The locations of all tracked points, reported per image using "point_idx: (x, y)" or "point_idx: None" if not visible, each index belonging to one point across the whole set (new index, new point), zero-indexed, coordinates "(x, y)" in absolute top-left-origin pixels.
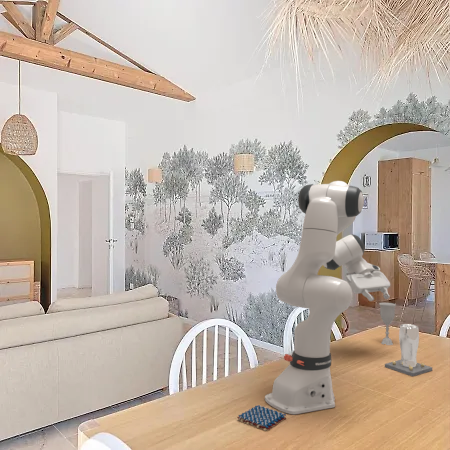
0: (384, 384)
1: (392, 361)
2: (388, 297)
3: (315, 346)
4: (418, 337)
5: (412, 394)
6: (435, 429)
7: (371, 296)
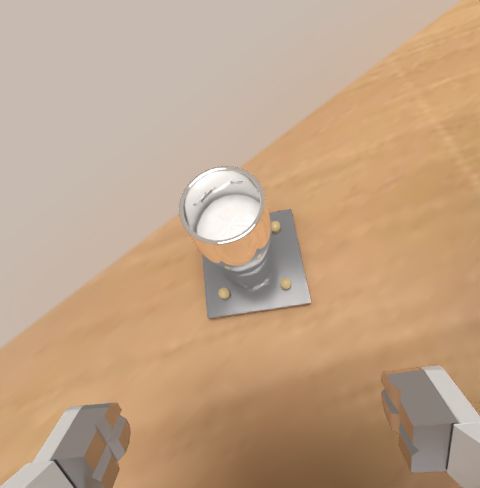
0: (412, 195)
1: (290, 285)
2: (96, 407)
3: None
4: (217, 192)
5: (382, 132)
6: (454, 21)
7: (444, 398)
